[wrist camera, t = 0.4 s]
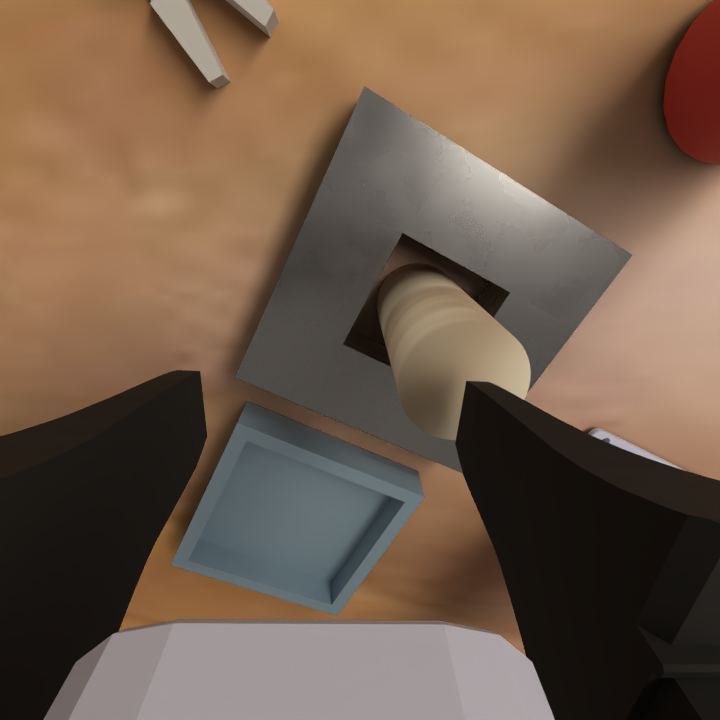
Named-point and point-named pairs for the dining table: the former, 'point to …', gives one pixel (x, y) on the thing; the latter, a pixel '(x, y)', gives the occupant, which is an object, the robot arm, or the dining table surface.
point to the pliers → (190, 33)
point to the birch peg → (443, 347)
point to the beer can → (696, 89)
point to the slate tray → (296, 512)
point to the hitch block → (435, 230)
